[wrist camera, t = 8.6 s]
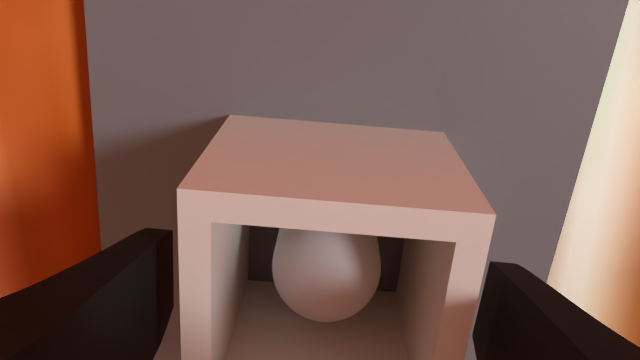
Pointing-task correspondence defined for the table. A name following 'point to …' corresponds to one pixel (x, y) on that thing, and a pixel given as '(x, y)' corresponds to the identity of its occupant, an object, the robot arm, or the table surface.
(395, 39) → the duct board
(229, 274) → the collar
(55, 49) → the table surface
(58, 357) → the robot arm
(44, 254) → the table surface
